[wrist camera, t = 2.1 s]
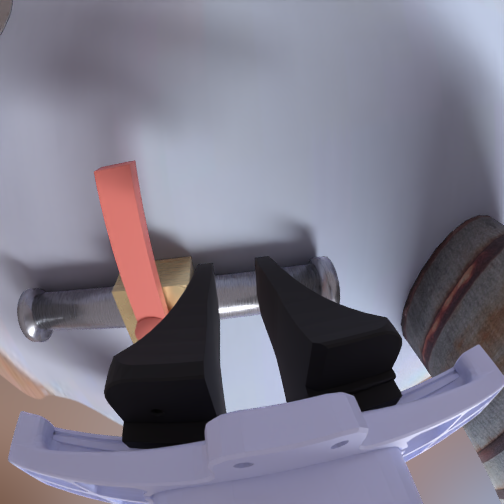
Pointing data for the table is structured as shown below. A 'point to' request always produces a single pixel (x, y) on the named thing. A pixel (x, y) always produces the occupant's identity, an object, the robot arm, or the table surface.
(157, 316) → the lever
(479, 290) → the barrel
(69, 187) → the table surface
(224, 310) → the pipe and valve
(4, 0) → the thermos bottle
